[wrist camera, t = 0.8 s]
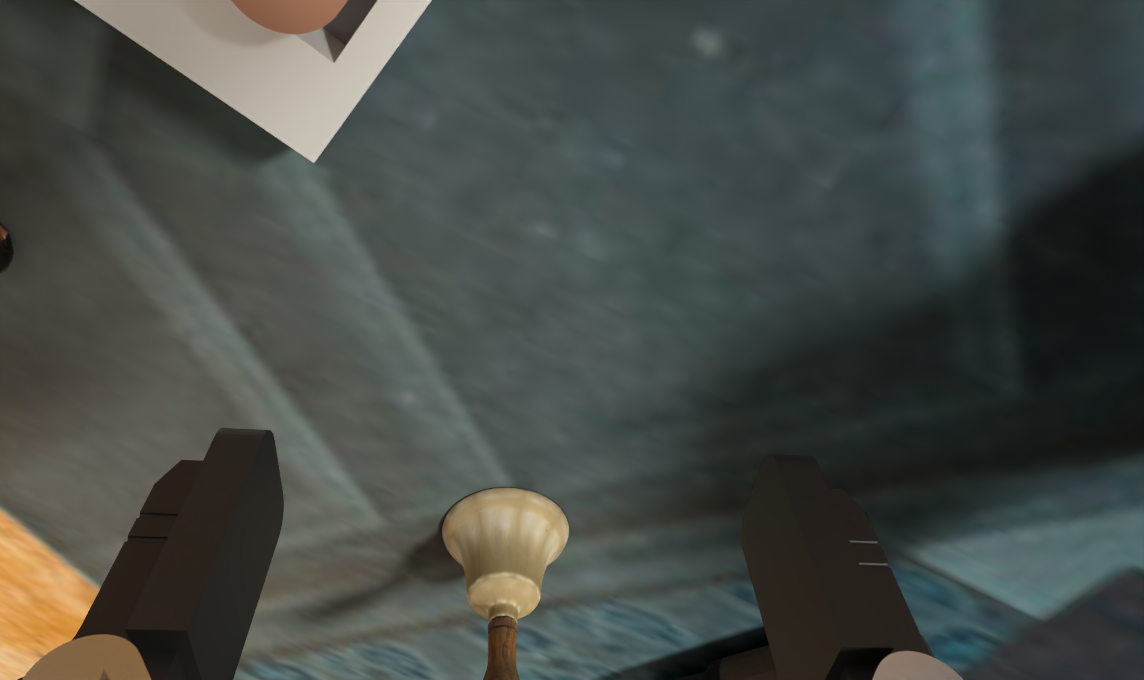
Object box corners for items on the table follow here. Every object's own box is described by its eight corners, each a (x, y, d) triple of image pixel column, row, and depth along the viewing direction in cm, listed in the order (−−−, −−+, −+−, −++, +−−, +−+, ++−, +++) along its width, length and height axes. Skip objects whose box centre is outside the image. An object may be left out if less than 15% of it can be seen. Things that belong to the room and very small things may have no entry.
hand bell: (418, 542, 52) (385, 796, 39) (487, 467, 49) (477, 719, 36) (521, 586, 56) (523, 833, 43) (593, 518, 52) (619, 766, 39)
